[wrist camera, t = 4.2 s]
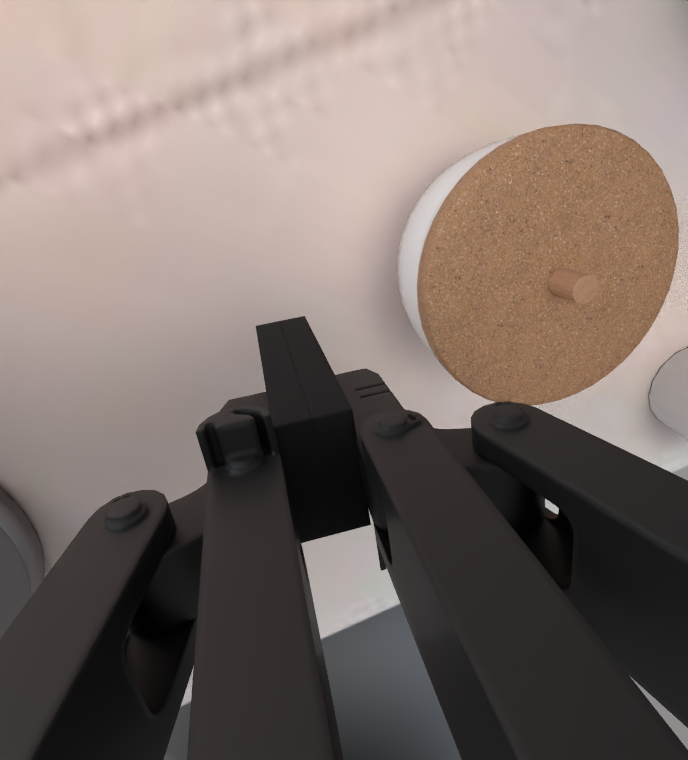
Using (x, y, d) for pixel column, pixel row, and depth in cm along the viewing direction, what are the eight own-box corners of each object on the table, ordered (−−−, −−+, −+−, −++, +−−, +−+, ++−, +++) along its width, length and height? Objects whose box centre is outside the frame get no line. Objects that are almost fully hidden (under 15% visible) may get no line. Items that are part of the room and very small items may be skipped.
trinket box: (596, 241, 27) (763, 272, 19) (460, 383, 29) (557, 471, 20) (478, 84, 23) (626, 31, 14) (326, 262, 24) (378, 309, 16)
